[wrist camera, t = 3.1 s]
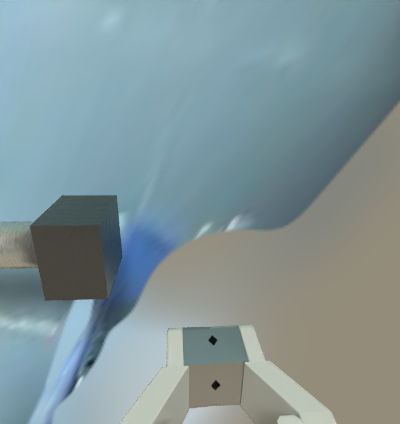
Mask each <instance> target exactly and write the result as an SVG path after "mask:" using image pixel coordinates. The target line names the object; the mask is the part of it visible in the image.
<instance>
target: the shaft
mask: <svg viewBox="0 0 400 424" xmlns="http://www.w3.org/2000/svg"><path fill="white" fill-rule="evenodd" d="M121 259H122V249H121V238H120V227H119V215H118V204H117V195H113V196H61V197H60V198H59V199H58V200H57V201H56V202H55V203H54V204H53V205H52V206H51V207H49V208H48V209H47V210H46V211H45V212H44V213H43V214H42V215H41V216H40V217H39V218H38V219H37V220H36V221H34V222H0V269H1V268H39V272H40V277H41V281H42V286H43V291H44V295H45V300H79V299H108V298H109V295H110V292H111V289H112V286H113V283H114V280H115V277H116V274H117V271H118V268H119V265H120V262H121Z"/></svg>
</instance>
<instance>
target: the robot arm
mask: <svg viewBox="0 0 400 424" xmlns="http://www.w3.org/2000/svg"><path fill="white" fill-rule="evenodd" d="M214 405H215V406H217V405H218V406H220V405H241V407H242V409H243V410H244V411H245V412H246V414H247V415H248V416H249V417H250V419H251V420H252V421H253V423H254V424H337V423H336V421H335V419H334V417H333V415H332V413H331V411H330V410H329V409H327V408H326V407H325V406H324V405H323V404H321V403H320V402H319V401H318V400H317V399H315V398H314V397H313V396H312V395H311V394H309V393H308V392H307V391H306V390H304V389H303V388H302V387H301V386H300V385H298V384H297V383H296V382H295V381H294V380H292V379H291V378H290V377H289V376H288V375H286V374H285V373H284V372H283V371H282V370H280V369H279V368H278V367H277V366H276V365H274V364H273V363H272V362H271V361H266V360H265V357H264V355H263V352H262V349H261V346H260V344H259V341H258V338H257V335H256V332H255V329H254V327H253V325H252V324H249V325H238V326H218V327H190V328H189V327H188V328H183V329H182V328H168V330H167V366H166V367H162V368H161V369H160V371H159V372H158V373H157V375H156V376H155V378H154V379H153V380H152V381H151V383H150V384H149V385H148V387H147V388H146V389H145V390H144V392H143V393H142V394H141V396H140V397H139V399H138V400H137V401H136V402H135V404H134V405H133V406H132V408H131V409H130V410H129V412H128V413H127V414H126V416H125V417H124V418H123V420H122V421H121V422H120V423H119V424H182V423H183V421H184V419H185V417H186V415H187V413H188V411H189V408H197V407H207V406H214Z"/></svg>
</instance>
